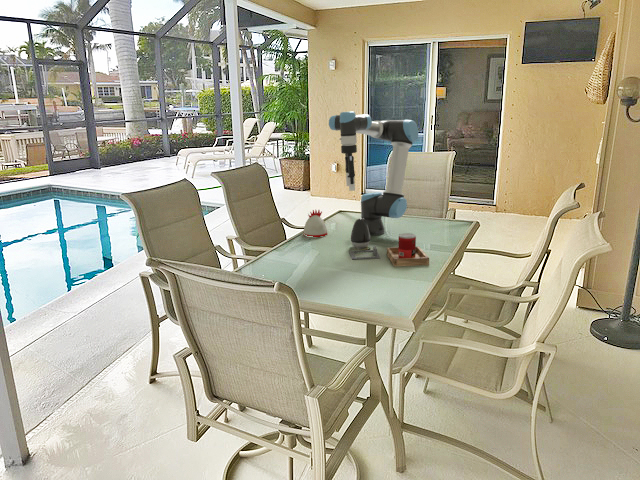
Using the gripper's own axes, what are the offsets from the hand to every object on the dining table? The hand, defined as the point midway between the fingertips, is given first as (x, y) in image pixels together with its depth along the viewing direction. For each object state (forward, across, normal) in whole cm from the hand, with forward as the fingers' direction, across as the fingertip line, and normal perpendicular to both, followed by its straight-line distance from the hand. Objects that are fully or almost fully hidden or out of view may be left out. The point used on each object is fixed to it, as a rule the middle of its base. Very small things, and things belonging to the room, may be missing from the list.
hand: (350, 188), depth 242 cm
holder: (+32, +10, +4) cm, 34 cm away
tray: (+32, +20, +23) cm, 45 cm away
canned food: (+31, +20, +23) cm, 44 cm away
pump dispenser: (+32, -5, +4) cm, 33 cm away
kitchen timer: (+32, -35, -18) cm, 51 cm away
